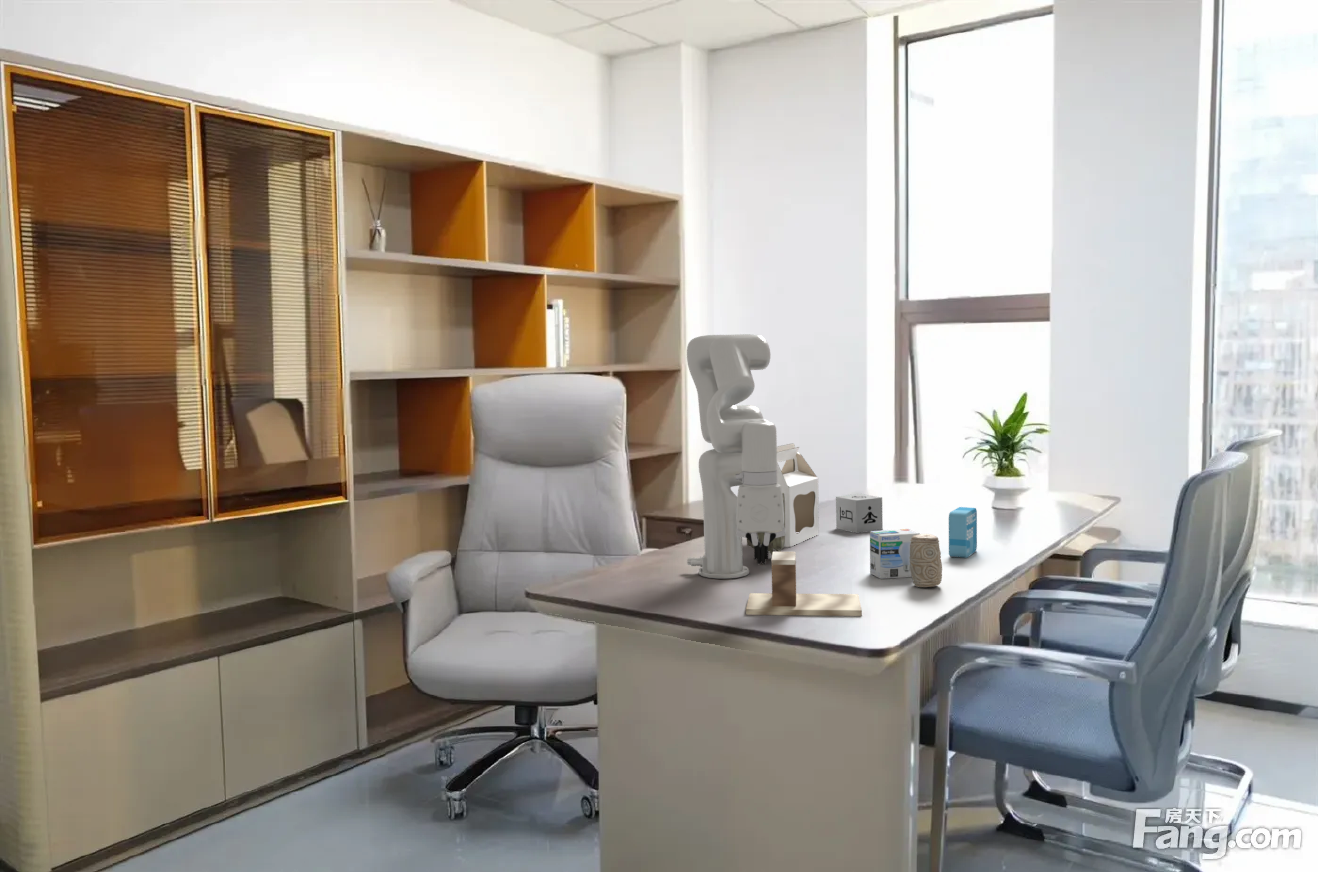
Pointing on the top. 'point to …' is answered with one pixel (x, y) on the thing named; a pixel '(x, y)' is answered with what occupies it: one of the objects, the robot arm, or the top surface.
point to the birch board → (806, 605)
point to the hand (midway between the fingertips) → (761, 562)
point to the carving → (925, 560)
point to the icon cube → (859, 513)
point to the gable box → (798, 495)
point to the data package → (962, 532)
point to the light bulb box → (890, 553)
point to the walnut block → (784, 579)
